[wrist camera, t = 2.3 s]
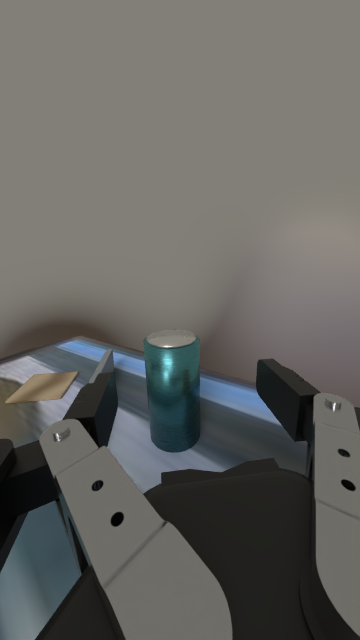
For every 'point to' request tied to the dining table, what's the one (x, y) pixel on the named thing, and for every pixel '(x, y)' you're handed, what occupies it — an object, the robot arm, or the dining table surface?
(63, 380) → the coaster
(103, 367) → the acrylic wall
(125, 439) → the dining table surface
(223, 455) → the dining table surface
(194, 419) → the can
